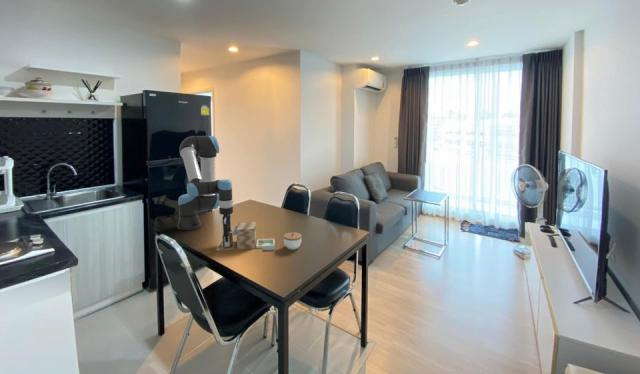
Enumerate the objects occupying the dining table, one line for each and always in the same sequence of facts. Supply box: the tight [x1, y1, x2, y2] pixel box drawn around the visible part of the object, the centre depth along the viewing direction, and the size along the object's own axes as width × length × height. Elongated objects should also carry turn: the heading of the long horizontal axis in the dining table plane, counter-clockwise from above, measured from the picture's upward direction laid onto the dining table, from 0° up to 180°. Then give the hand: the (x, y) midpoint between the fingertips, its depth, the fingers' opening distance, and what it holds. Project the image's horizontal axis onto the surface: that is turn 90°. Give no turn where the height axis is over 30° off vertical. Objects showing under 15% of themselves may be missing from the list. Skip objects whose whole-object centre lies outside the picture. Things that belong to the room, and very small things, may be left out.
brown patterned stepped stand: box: [215, 221, 257, 251], centre depth 178 cm, size 22×12×14 cm, turn 99°
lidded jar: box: [283, 232, 302, 251], centre depth 180 cm, size 11×11×9 cm
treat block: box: [222, 232, 234, 248], centre depth 177 cm, size 5×5×7 cm
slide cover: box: [232, 225, 238, 236], centre depth 178 cm, size 10×10×2 cm
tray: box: [255, 238, 276, 251], centre depth 181 cm, size 11×11×3 cm
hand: (227, 244), depth 178 cm, fingers closed on treat block, 5 cm apart
